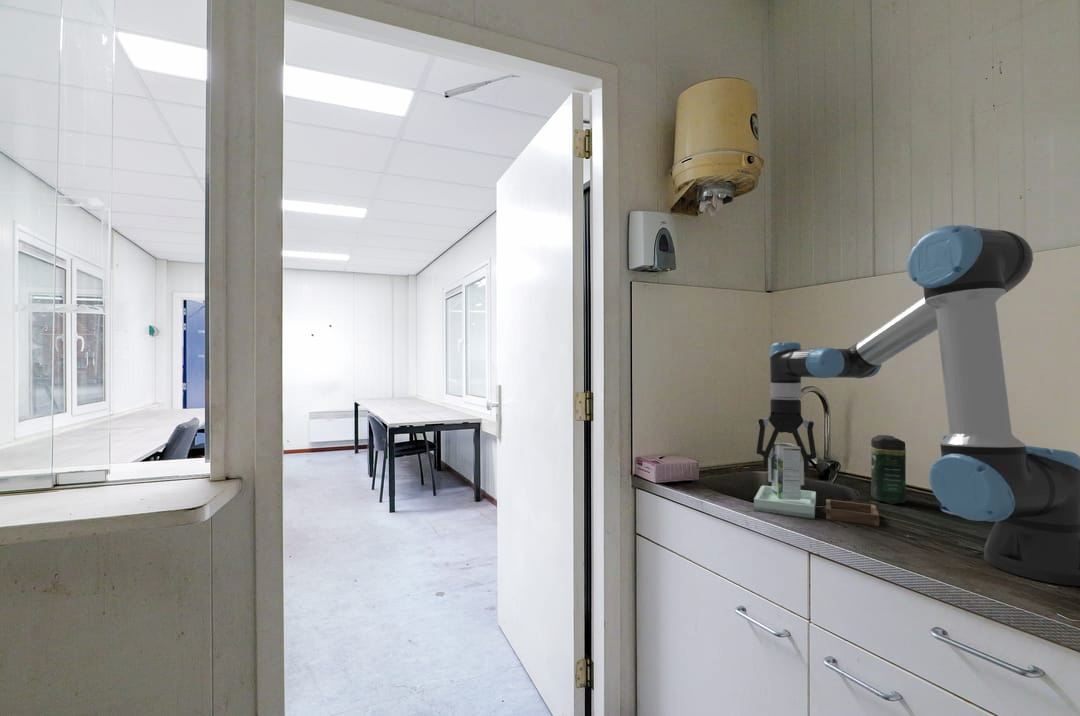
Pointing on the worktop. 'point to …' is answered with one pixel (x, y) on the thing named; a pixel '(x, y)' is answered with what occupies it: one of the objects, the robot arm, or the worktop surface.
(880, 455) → the coffee jar
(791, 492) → the syrup box
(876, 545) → the worktop surface
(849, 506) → the walnut collar
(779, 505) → the mint tray
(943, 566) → the worktop surface
